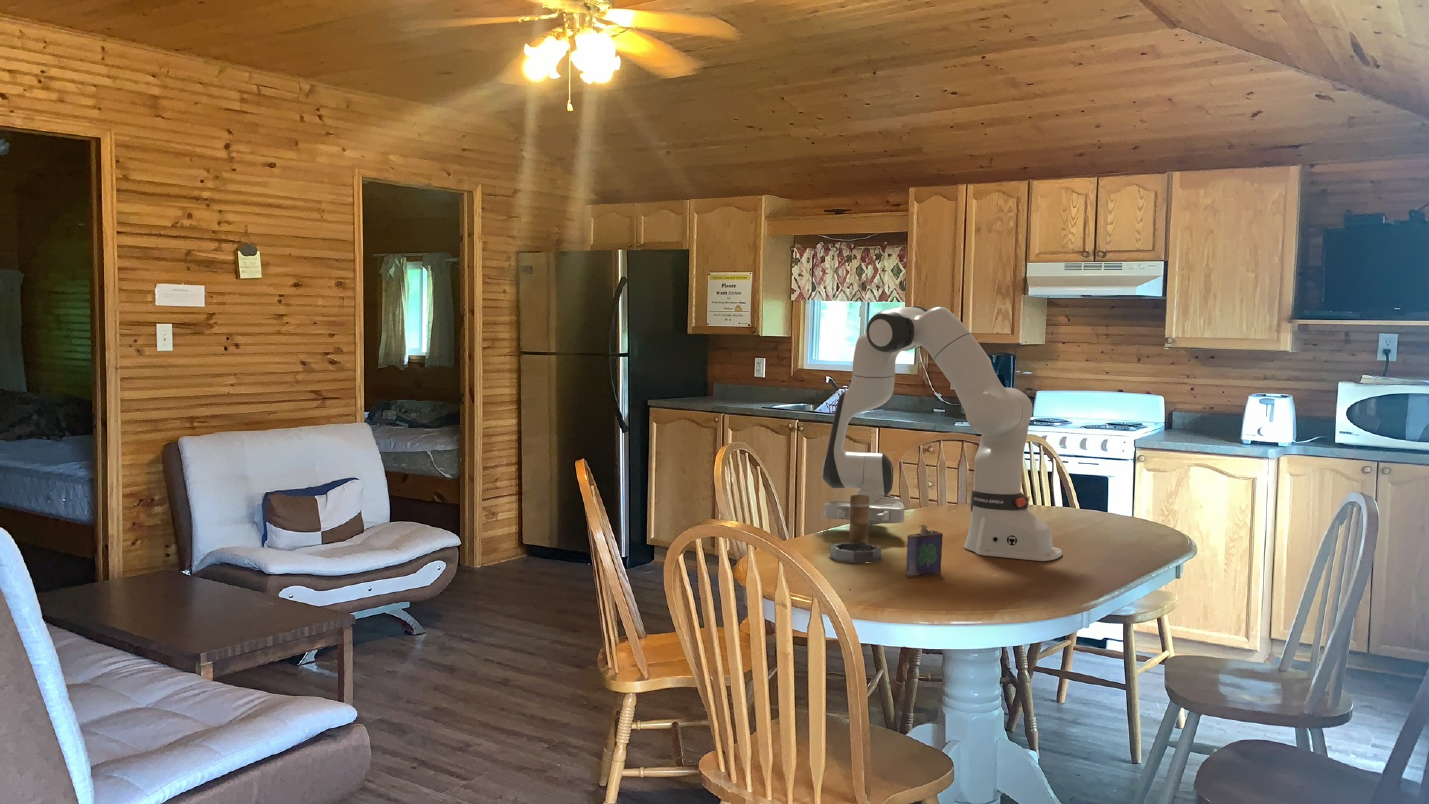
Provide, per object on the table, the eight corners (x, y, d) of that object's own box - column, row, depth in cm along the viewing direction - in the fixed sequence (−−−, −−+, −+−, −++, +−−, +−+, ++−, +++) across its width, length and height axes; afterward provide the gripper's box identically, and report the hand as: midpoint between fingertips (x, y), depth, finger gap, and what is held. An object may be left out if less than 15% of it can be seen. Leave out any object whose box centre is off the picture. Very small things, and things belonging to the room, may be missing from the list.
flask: (911, 578, 225) (912, 528, 224) (901, 575, 227) (903, 525, 227) (943, 574, 229) (945, 525, 229) (934, 571, 232) (936, 522, 231)
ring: (886, 557, 245) (887, 546, 245) (866, 565, 236) (866, 554, 236) (844, 551, 251) (844, 540, 251) (823, 558, 242) (823, 548, 242)
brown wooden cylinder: (871, 545, 259) (872, 496, 259) (862, 548, 255) (864, 498, 255) (854, 542, 262) (855, 494, 261) (845, 545, 258) (847, 496, 257)
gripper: (827, 493, 278) (819, 501, 264) (906, 498, 273) (903, 506, 259) (826, 517, 278) (818, 526, 265) (905, 522, 273) (902, 531, 260)
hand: (861, 516), depth 262 cm, fingers open, 8 cm apart
